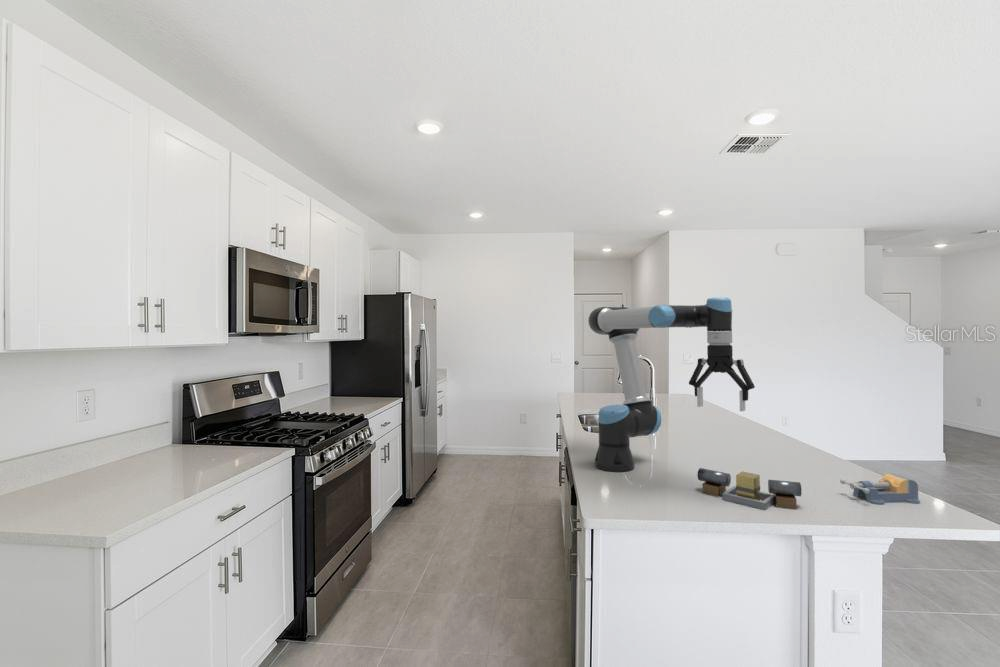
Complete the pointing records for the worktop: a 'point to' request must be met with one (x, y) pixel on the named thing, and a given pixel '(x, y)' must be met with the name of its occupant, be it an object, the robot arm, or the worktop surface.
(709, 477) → the shaft
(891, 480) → the vise
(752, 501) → the cradle
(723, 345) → the robot arm
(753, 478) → the gold rectangular block
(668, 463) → the worktop surface
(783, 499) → the shaft
